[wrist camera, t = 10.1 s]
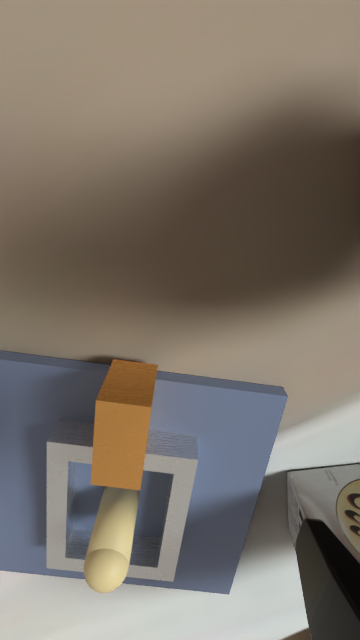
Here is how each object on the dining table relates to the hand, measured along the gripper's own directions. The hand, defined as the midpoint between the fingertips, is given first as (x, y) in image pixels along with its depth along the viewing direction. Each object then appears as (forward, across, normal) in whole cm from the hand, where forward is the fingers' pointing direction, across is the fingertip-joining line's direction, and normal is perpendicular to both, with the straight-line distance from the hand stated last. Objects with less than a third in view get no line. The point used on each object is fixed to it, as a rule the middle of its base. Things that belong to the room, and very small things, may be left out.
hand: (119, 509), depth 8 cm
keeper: (+12, +1, +12) cm, 17 cm away
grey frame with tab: (+11, +1, +9) cm, 14 cm away
